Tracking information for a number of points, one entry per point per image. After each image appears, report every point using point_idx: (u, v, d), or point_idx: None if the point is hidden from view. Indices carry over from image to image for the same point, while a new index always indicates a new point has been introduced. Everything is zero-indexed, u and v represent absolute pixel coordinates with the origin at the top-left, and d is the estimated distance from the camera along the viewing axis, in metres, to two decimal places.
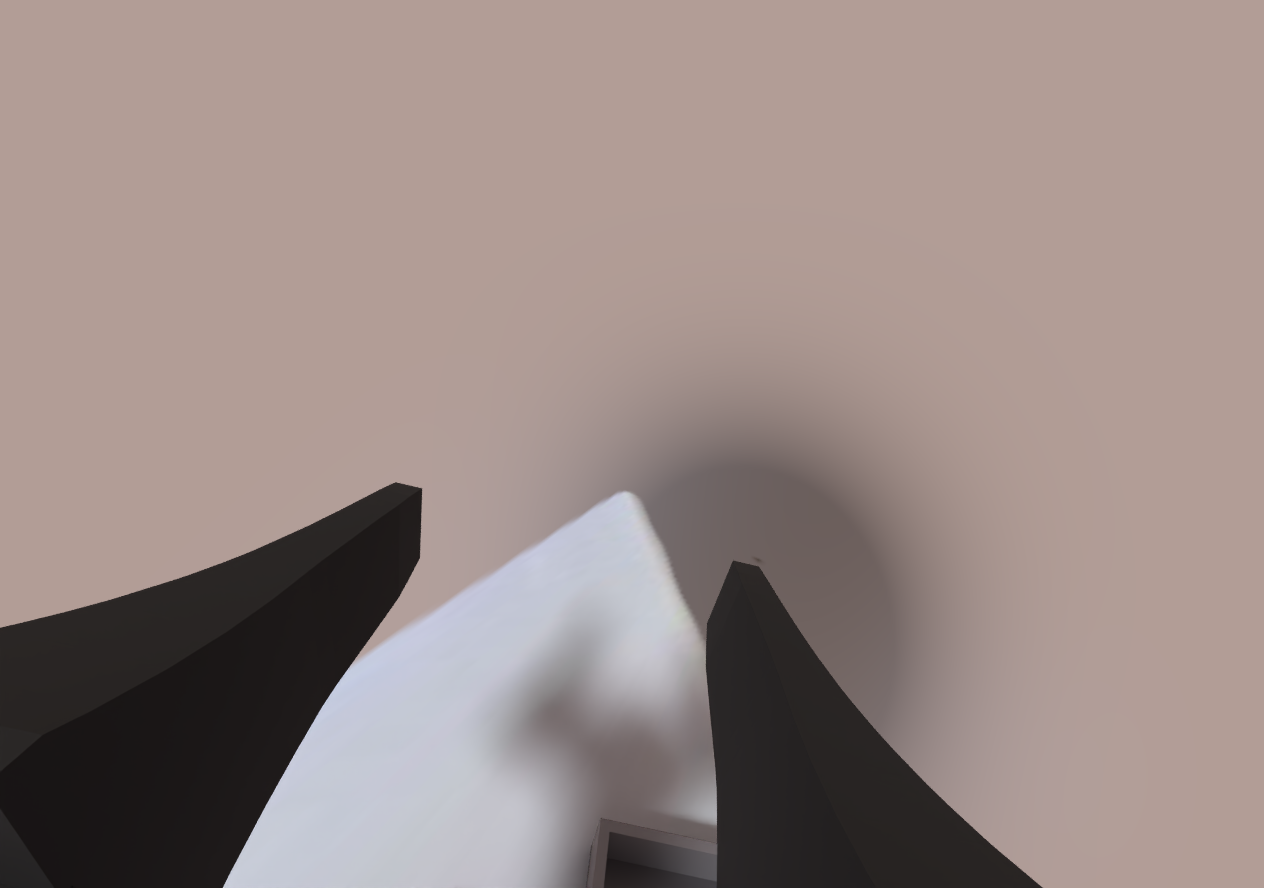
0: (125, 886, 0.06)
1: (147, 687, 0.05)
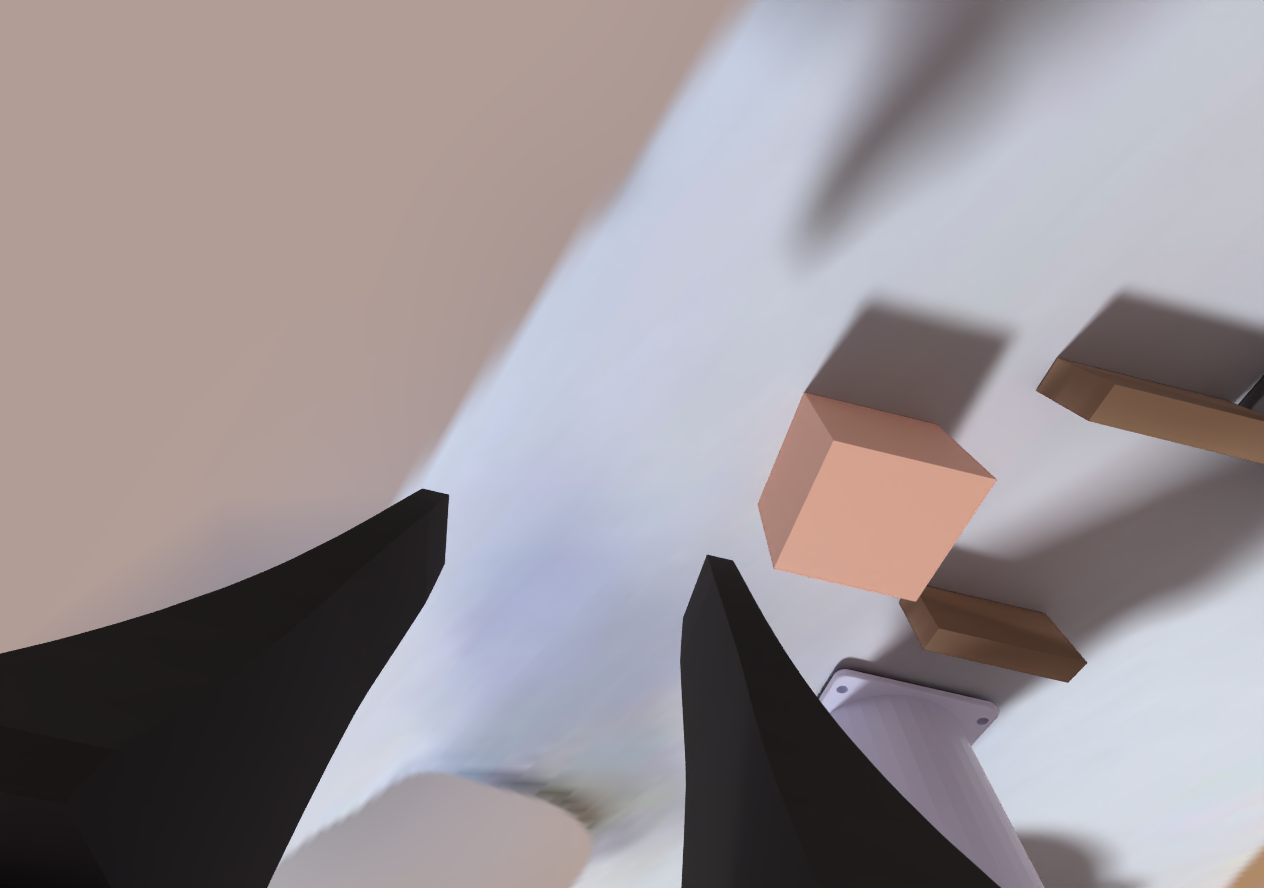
0: None
1: (205, 700, 0.05)
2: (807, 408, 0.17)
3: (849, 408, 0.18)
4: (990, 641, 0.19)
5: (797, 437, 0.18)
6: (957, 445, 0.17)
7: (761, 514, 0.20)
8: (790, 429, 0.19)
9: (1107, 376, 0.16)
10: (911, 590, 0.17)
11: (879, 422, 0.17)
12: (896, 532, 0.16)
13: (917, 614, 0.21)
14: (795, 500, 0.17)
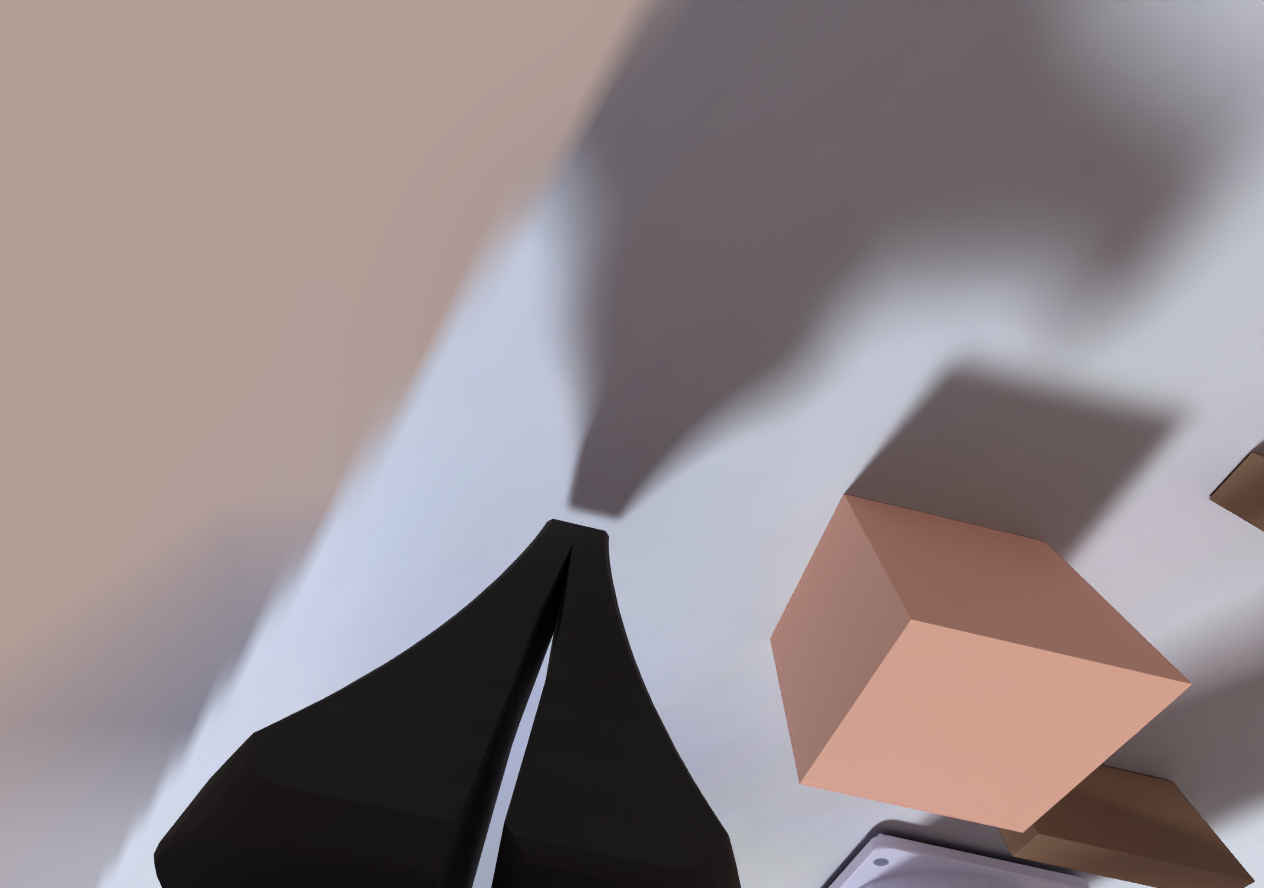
0: None
1: (483, 760, 0.05)
2: (851, 525, 0.11)
3: (915, 523, 0.11)
4: (1112, 850, 0.13)
5: (835, 566, 0.11)
6: (1093, 590, 0.11)
7: (775, 661, 0.13)
8: (821, 545, 0.12)
9: None
10: (1017, 819, 0.11)
11: (966, 551, 0.11)
12: (1004, 746, 0.10)
13: None
14: (835, 684, 0.10)
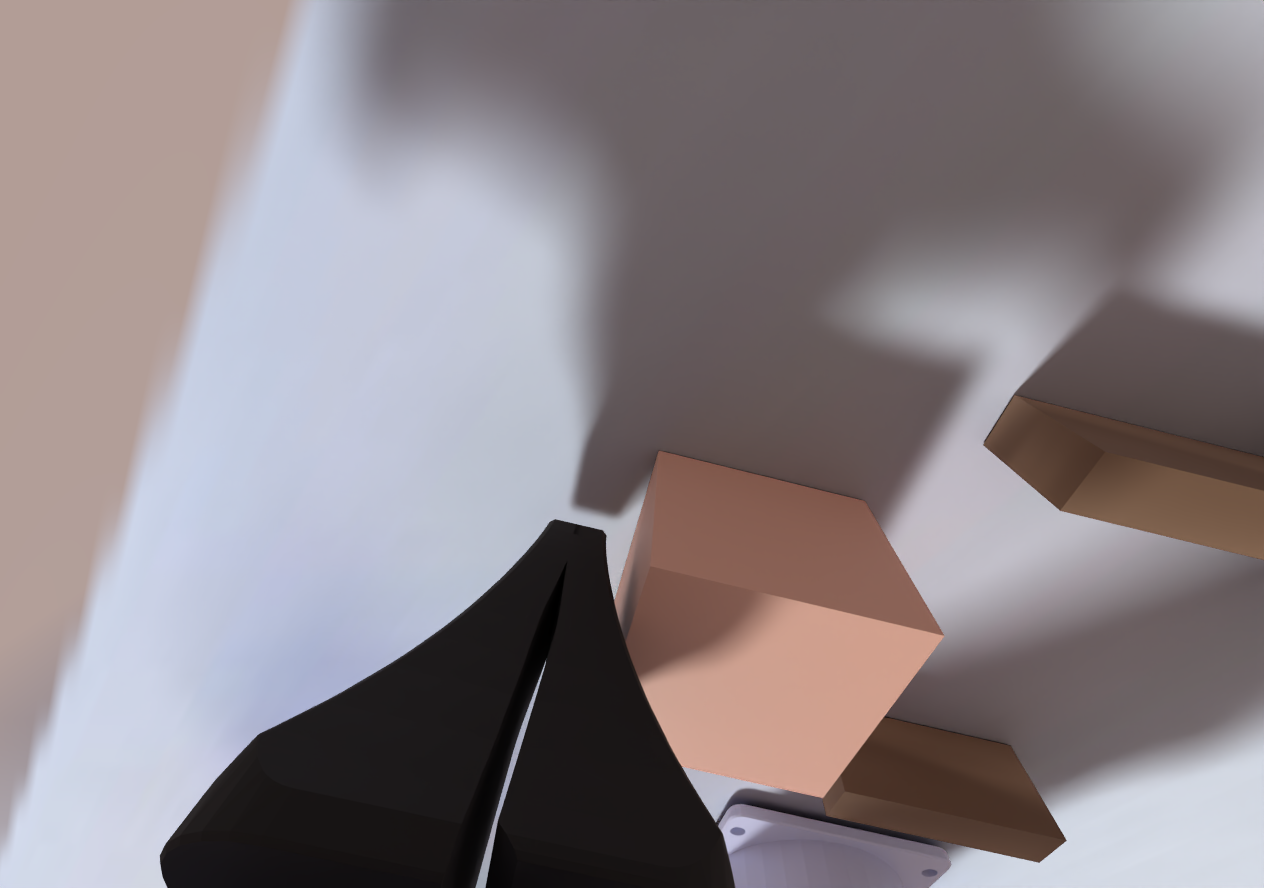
0: None
1: (487, 760, 0.05)
2: (654, 483, 0.11)
3: (724, 482, 0.11)
4: (922, 808, 0.13)
5: (642, 526, 0.11)
6: (890, 549, 0.10)
7: None
8: (643, 508, 0.12)
9: (1093, 430, 0.09)
10: (814, 784, 0.10)
11: (765, 509, 0.10)
12: (779, 704, 0.09)
13: None
14: None
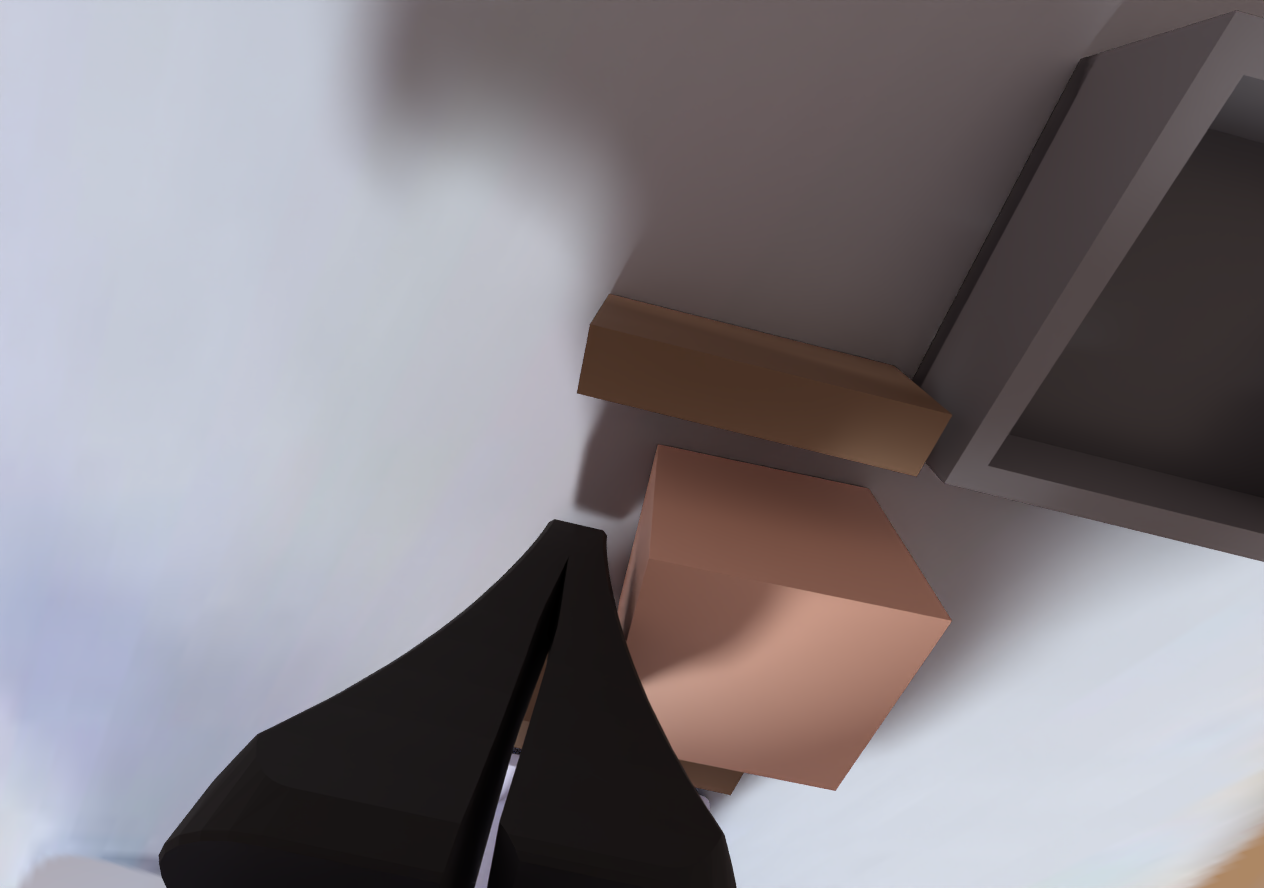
0: None
1: (486, 761, 0.05)
2: (654, 476, 0.11)
3: (724, 473, 0.11)
4: None
5: (643, 521, 0.11)
6: (895, 536, 0.10)
7: None
8: (644, 502, 0.12)
9: (641, 318, 0.09)
10: (826, 776, 0.10)
11: (766, 499, 0.10)
12: (786, 696, 0.09)
13: None
14: None
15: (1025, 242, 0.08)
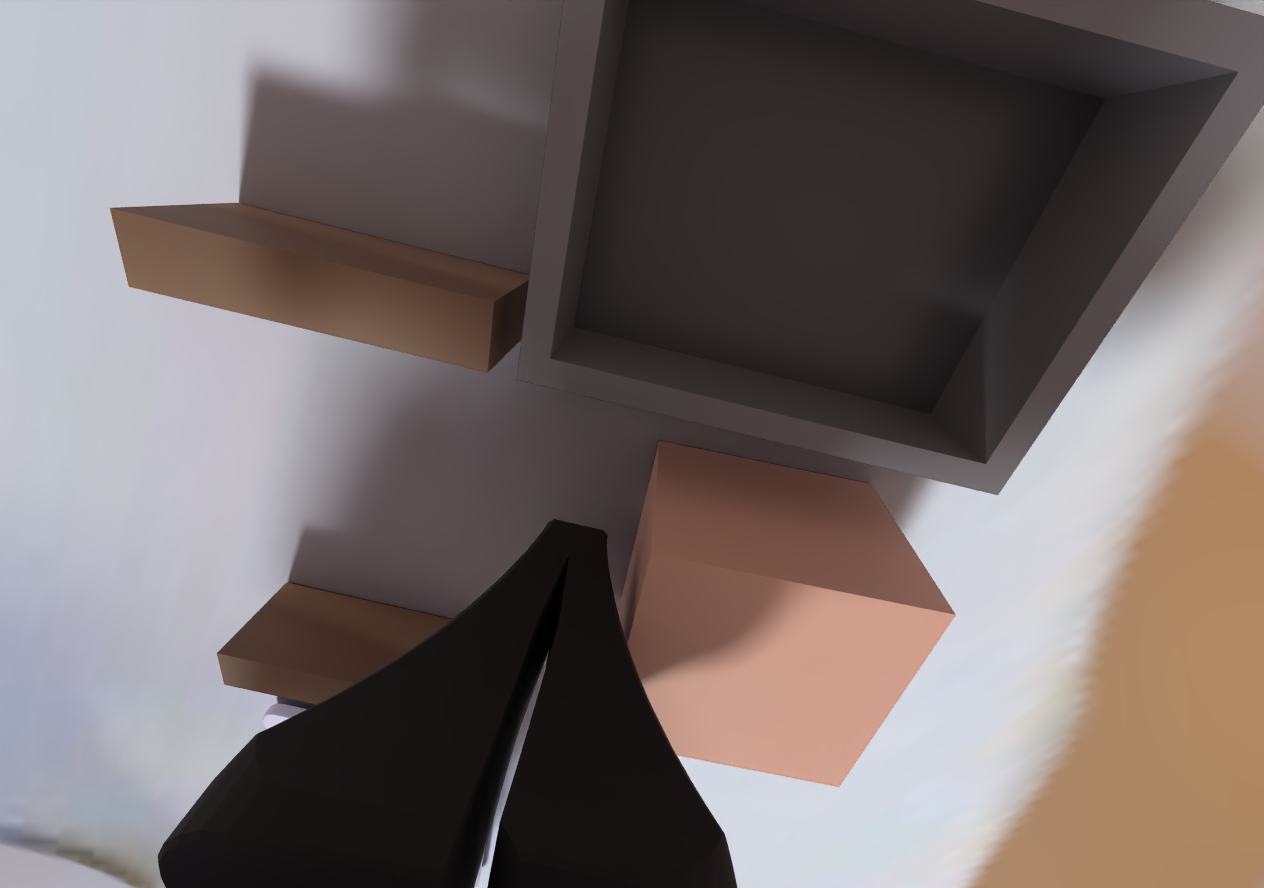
0: None
1: (486, 761, 0.05)
2: (655, 473, 0.11)
3: (726, 469, 0.11)
4: (307, 673, 0.13)
5: (645, 517, 0.11)
6: (898, 531, 0.10)
7: None
8: (645, 499, 0.12)
9: (222, 216, 0.09)
10: (829, 772, 0.10)
11: (768, 495, 0.10)
12: (789, 692, 0.09)
13: None
14: (625, 634, 0.10)
15: None
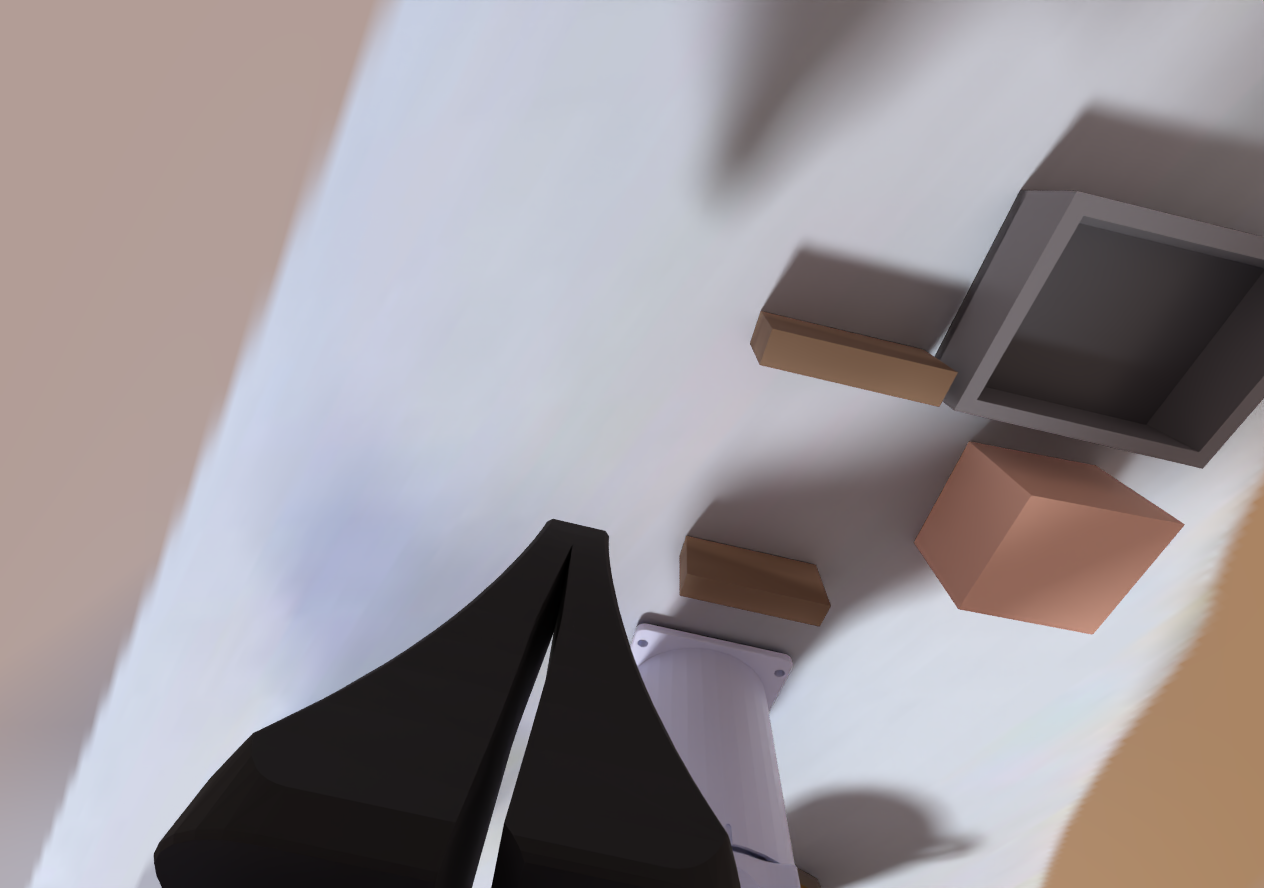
0: None
1: (482, 760, 0.05)
2: (978, 458, 0.19)
3: (1016, 455, 0.19)
4: (738, 586, 0.21)
5: (968, 484, 0.19)
6: (1127, 487, 0.18)
7: (923, 553, 0.21)
8: (954, 475, 0.20)
9: (788, 324, 0.17)
10: (1089, 624, 0.18)
11: (1050, 469, 0.18)
12: (1081, 573, 0.17)
13: (683, 564, 0.22)
14: (979, 546, 0.18)
15: (994, 283, 0.16)
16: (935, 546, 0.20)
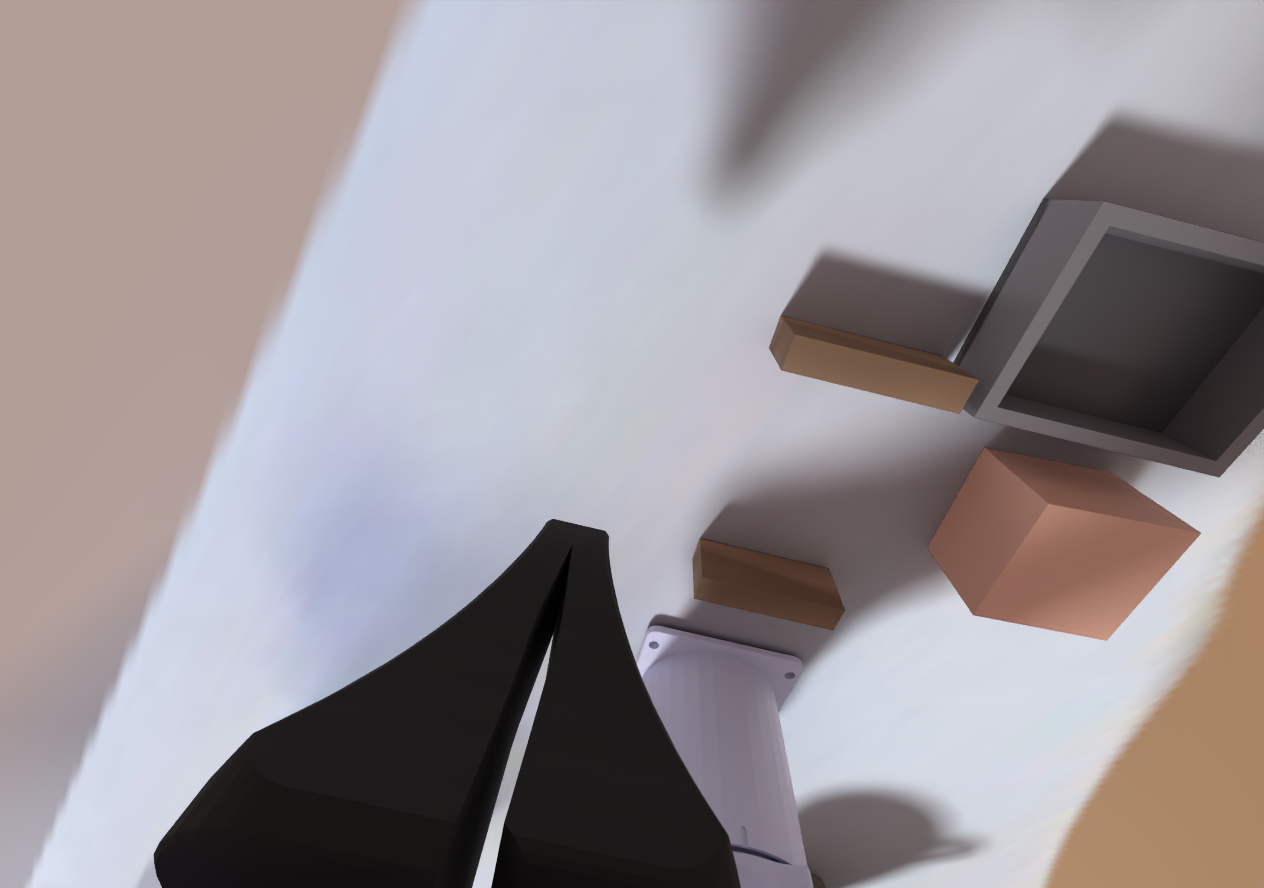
0: None
1: (483, 759, 0.05)
2: (994, 465, 0.19)
3: (1031, 462, 0.19)
4: (753, 589, 0.21)
5: (983, 490, 0.19)
6: (1143, 495, 0.18)
7: (936, 558, 0.21)
8: (968, 481, 0.20)
9: (809, 330, 0.17)
10: (1104, 630, 0.18)
11: (1065, 476, 0.18)
12: (1096, 580, 0.17)
13: (697, 567, 0.22)
14: (995, 553, 0.18)
15: (1016, 291, 0.16)
16: (949, 552, 0.20)
